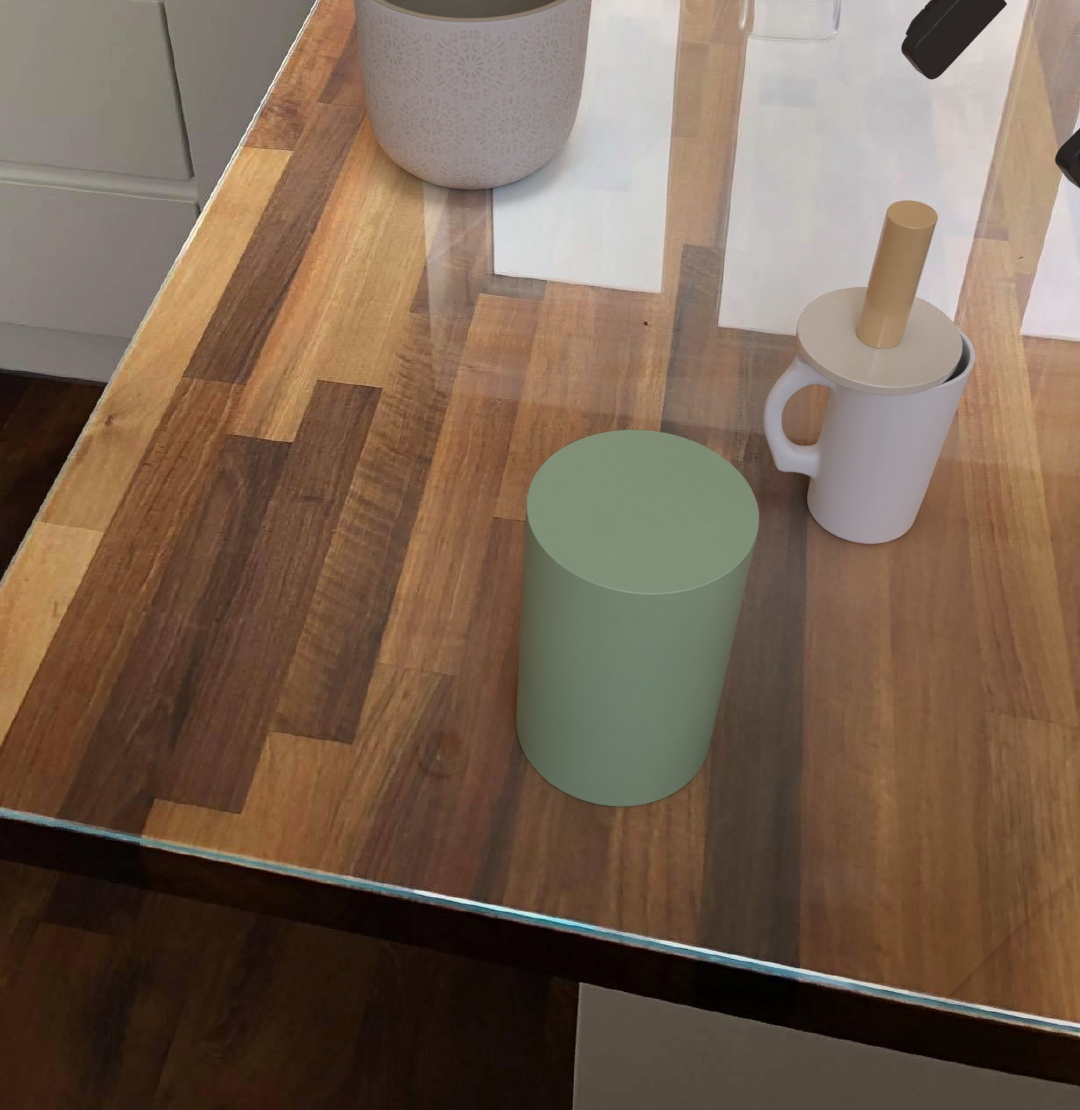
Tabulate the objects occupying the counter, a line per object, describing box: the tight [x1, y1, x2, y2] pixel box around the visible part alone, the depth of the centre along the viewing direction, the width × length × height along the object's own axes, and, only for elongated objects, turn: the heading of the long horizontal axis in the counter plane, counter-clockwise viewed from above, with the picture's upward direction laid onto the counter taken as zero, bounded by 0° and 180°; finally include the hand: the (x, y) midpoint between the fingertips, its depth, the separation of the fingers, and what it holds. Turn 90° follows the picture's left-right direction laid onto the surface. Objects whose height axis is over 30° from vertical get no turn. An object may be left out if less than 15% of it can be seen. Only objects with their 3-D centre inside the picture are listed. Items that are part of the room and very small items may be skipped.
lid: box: [795, 199, 963, 395], centre depth 71 cm, size 8×8×8 cm
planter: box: [353, 0, 593, 191], centre depth 104 cm, size 17×17×15 cm
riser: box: [515, 429, 760, 807], centre depth 66 cm, size 10×10×16 cm
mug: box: [762, 326, 976, 545], centre depth 78 cm, size 10×7×12 cm, turn 82°
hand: (988, 118), depth 50 cm, fingers open, 8 cm apart
